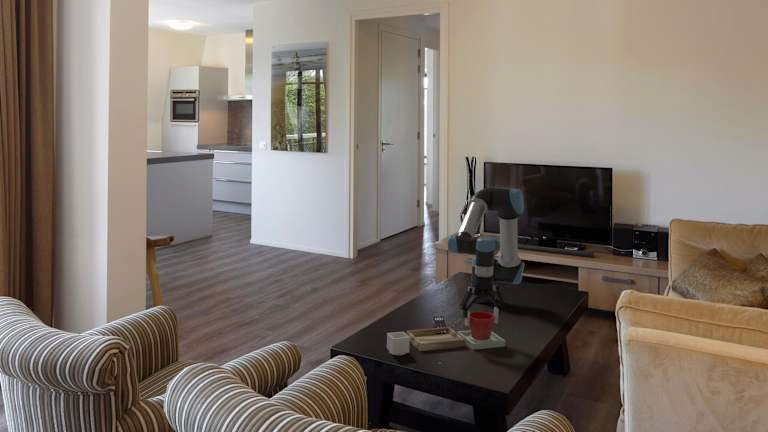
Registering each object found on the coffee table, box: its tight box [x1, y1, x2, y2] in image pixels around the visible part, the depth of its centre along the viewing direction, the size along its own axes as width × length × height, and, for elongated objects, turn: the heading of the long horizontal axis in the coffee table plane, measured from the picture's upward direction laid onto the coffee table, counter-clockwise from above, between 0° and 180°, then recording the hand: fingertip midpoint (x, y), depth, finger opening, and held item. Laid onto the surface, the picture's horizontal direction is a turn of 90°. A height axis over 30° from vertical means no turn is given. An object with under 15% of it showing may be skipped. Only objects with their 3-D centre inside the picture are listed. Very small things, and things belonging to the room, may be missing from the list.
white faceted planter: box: [386, 331, 410, 356], centre depth 237 cm, size 7×7×7 cm
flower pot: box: [469, 311, 495, 340], centre depth 250 cm, size 11×11×10 cm
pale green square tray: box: [456, 329, 506, 351], centre depth 251 cm, size 15×15×2 cm
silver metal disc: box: [470, 335, 491, 342], centre depth 251 cm, size 9×9×1 cm
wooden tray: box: [405, 326, 466, 352], centre depth 249 cm, size 16×20×3 cm
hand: (481, 324), depth 250 cm, fingers open, 13 cm apart
